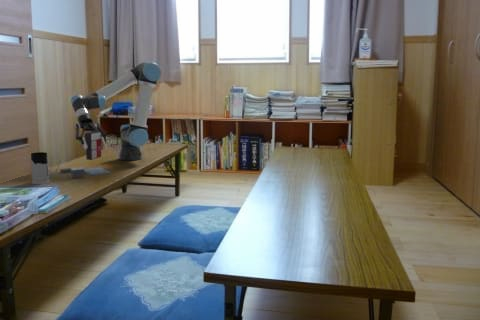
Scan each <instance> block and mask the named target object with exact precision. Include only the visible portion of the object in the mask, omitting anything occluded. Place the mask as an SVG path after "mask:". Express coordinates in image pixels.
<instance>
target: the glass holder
mask: <svg viewBox="0 0 480 320" xmlns="http://www.w3.org/2000/svg"><path fill="white" fill-rule="evenodd" d="M53 157H58V158H59V161H61V157H60V156H59V155H57V154H54V155H52V156H51V158H50V162H48V152H43V151H42V152H39V151H38V152H32V153H31V154H30V165H31V166H30V167H31V179H32V181H31V184H32V183H33V184H32V185H44V184H45V183H46V184H49V183H51V181H50V178H51V176H52V175H53V174H54V173H55V172H56V171H58V170H59V168H60V165H61V162H59V163H58V166H57V168H56V169H55V170H54V171H53V172H51V174H50V173H49V165H50V164H52V160H53Z"/></svg>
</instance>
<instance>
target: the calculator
mask: <svg viewBox="0 0 480 320" xmlns="http://www.w3.org/2000/svg"><path fill="white" fill-rule="evenodd" d="M84 139H85V141H86V144H87V149H86V150H85V152H86V155H85V156H86V160H87V161H88V160H90V161H93V160H96V159H99V158H101V157H102V143H101V133H100V132H99V131H93V132H92V131H87V132H84Z"/></svg>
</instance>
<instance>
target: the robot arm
mask: <svg viewBox="0 0 480 320" xmlns="http://www.w3.org/2000/svg"><path fill="white" fill-rule="evenodd" d="M161 76H162V68H161V67H160V65H158V64H157V62H152V61H147V62H146V61H145V62H141V63H138V64H137V65H136V66H135V67H133V68H131V69H129V70H128V73H126V74H124V75H123V76H121V77H118V78H117V79H115V80H113V81H112V82H110V83H109V84H107V85H105V86H103V87H101V88H100V89H98V90H96V91H95V92H92V93H91V94H89V95H86V96H83V95H81V94H75V95H73V96H71V98H70V103H71V107H72V109H73V111H74V115H75V116H76V119H77V121H78V122H77V123H76V124H75V125H74V129H75V140H76V141H78V142H80V144H81V145H82V146H83V148H84V150H85V151H86V149H87V144H86V140H85V137H84V136H85V133H86V132H93V131H99V132H100V133H101V146H102V148H103V149H106V147H107V143H106V142H107V140H106V138H107V137H108V136H107V133H106V132H105V130H103V128H102V126H100V123H94V122H93V119H92V118H93V117H92V116H91V114H90V110H96V109H97V110H98V109H104V108H106V107H107V103H108V102H107V100H108V99H110V98H112V97H114V96H115V95H117V94H119V93H120V92H122V91H124V90H126V89H127V88H129V87H130V86H133V85H134V84H135V85H136V84H139V88H138V93H137V98H136V102H135V103H136V104H135V106H134V107H135V108H134V112H133V118H132V121H131V122H130V123H129V124H123V125H120V128H119V129H120V145H121V146H120V150H119V154H118V160H121V161H139V160H142V159H143V154H142V152H141V149H140V147H143V146H145V144H147V142H148V141H149V134H148V128H149V127H148V125H147V121H148V116H149V110H150V106H151V103H152V98H153V97H152V96H153V92H154V88H155V87H156V86H157V84H158V80H159V79H160V78H161ZM80 129H82V130H81V133H80Z"/></svg>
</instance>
